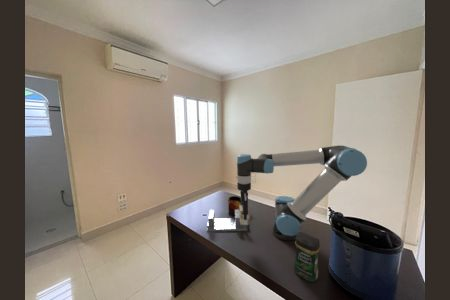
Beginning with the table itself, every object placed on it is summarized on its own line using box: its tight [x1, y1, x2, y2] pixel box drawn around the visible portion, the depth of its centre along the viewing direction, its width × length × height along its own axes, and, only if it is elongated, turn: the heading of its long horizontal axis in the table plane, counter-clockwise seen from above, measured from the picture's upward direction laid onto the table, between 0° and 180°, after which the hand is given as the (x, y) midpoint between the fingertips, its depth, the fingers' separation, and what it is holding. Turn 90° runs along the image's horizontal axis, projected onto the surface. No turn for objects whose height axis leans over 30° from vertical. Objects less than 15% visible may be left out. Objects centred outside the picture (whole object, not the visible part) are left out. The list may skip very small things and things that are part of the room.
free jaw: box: [234, 209, 249, 228], centre depth 116 cm, size 8×12×8 cm
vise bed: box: [206, 209, 248, 232], centre depth 117 cm, size 26×13×8 cm, turn 89°
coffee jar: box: [293, 231, 321, 283], centre depth 77 cm, size 10×8×19 cm
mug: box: [227, 195, 241, 218], centre depth 134 cm, size 10×14×12 cm
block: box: [239, 205, 251, 225], centre depth 99 cm, size 5×7×8 cm
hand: (244, 220), depth 99 cm, fingers closed on block, 7 cm apart
